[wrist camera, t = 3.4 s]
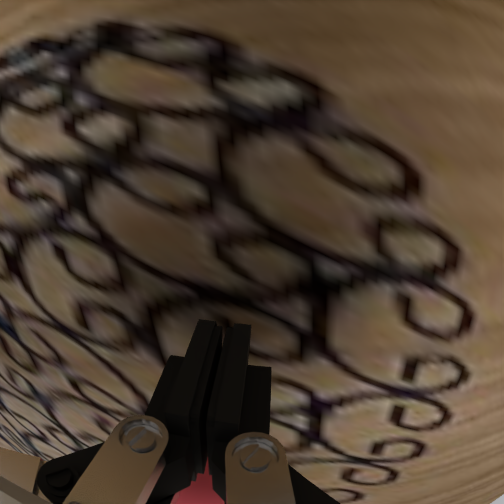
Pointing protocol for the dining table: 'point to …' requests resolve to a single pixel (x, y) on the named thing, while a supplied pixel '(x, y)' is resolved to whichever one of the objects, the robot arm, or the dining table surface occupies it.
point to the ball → (200, 491)
